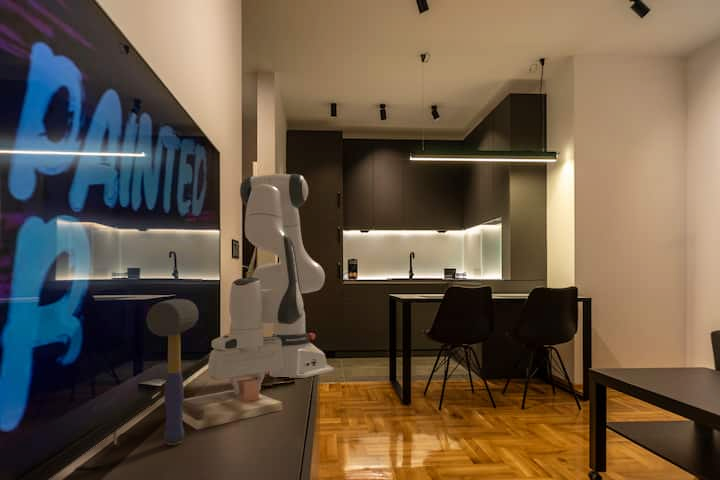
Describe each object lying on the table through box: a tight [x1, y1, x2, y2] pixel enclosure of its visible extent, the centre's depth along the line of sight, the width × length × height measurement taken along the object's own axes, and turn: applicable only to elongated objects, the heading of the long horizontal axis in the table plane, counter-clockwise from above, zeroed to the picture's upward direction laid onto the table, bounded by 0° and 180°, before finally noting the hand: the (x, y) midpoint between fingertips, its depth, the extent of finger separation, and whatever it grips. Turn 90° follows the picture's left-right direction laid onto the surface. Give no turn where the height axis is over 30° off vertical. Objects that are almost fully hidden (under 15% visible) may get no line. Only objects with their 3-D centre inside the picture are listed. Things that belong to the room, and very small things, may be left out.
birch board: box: [182, 393, 283, 430], centre depth 122 cm, size 22×14×4 cm, turn 129°
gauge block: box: [236, 376, 260, 402], centre depth 128 cm, size 4×5×5 cm
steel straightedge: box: [183, 389, 237, 406], centre depth 127 cm, size 22×2×2 cm, turn 129°
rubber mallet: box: [146, 298, 199, 446], centre depth 102 cm, size 12×8×30 cm, turn 0°
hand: (247, 391), depth 128 cm, fingers closed on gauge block, 4 cm apart
